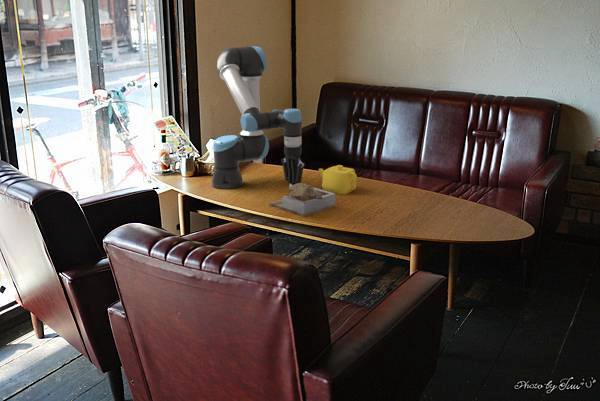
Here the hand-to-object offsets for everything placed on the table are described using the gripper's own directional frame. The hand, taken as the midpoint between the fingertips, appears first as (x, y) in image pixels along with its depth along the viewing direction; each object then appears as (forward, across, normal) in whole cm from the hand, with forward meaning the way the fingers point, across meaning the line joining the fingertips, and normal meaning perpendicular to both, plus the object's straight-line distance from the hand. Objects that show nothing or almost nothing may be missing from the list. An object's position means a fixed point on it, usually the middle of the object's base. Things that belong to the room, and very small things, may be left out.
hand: (293, 197), depth 283 cm
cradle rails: (+1, +10, 0) cm, 10 cm away
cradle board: (+3, +6, 0) cm, 6 cm away
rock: (+2, +7, -1) cm, 7 cm away
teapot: (+3, 0, +30) cm, 30 cm away
